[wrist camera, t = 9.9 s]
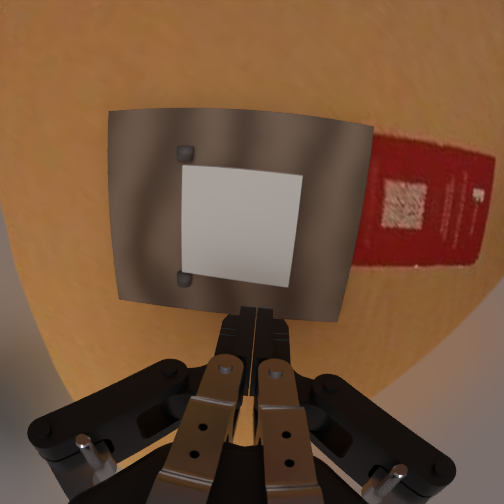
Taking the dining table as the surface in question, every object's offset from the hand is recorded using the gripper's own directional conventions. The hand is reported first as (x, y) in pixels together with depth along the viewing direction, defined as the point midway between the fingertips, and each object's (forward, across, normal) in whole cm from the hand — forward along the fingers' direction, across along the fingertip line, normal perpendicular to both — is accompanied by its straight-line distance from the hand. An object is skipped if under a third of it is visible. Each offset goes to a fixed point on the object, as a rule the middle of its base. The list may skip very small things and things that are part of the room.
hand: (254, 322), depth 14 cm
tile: (+13, +2, 0) cm, 13 cm away
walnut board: (+16, +3, 0) cm, 17 cm away
